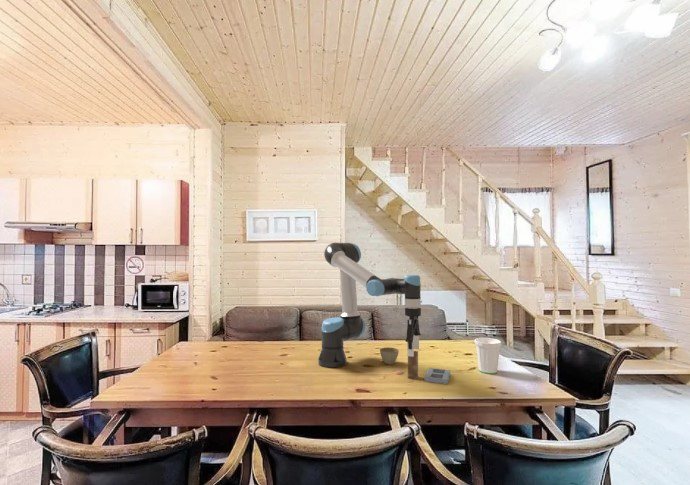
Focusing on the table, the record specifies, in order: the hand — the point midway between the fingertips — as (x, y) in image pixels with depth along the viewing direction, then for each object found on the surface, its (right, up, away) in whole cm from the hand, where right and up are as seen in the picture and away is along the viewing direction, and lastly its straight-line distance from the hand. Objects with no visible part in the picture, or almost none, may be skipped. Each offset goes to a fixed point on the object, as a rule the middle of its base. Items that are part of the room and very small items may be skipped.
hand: (413, 352), depth 170 cm
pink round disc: (-6, -12, +7) cm, 15 cm away
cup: (+39, -12, +9) cm, 42 cm away
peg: (0, -12, 0) cm, 12 cm away
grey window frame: (+11, -12, 0) cm, 16 cm away
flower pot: (-9, -13, +22) cm, 27 cm away
